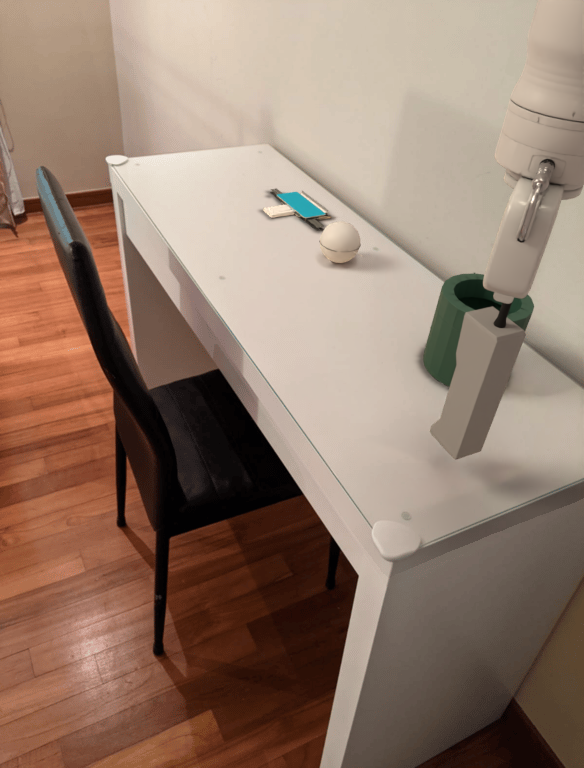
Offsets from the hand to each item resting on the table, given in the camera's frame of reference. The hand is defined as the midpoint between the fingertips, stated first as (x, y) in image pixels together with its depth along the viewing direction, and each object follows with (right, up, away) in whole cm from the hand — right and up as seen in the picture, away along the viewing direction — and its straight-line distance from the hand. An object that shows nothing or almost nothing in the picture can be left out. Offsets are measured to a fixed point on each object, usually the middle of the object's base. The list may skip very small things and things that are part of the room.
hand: (504, 293), depth 58 cm
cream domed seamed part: (-11, +13, +53) cm, 56 cm away
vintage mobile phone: (-1, -16, +13) cm, 20 cm away
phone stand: (-20, +27, +70) cm, 77 cm away
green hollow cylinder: (+5, -6, +32) cm, 33 cm away
